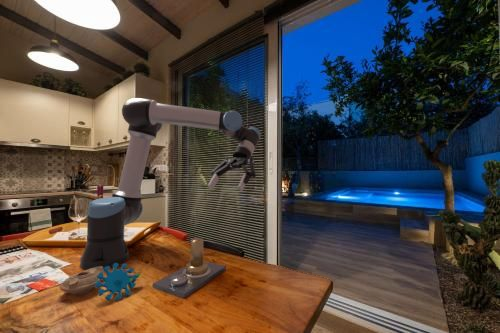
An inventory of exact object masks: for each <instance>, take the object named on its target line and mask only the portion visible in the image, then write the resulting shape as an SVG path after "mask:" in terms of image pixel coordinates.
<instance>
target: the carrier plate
mask: <svg viewBox="0 0 500 333" xmlns="http://www.w3.org/2000/svg"><path fill="white" fill-rule="evenodd" d="M206 262H207V263H208V271H207V272H206V273H204V274H202V275H197V276H191V275H188V274H186V266H184V267H182V268H179V269H177V270H176V271H173V272H172V273H170V274H169V275H166V276H164V277H163V278H161V279H159V280H157V281H155V282H153V283H152V288H153V289H155V290H158V291H162V292H165V293H167V294H170V295H173V296H176V297H179V298H182V299H185V298H187V297H188V296H190V295H191V294H192V293H194V292H195V291H197V290H199V289H200V288H202V287H203V286H205V285H206V284H207V283H209V282H210V281H211V280H213V279H215V277H218V276H219V275H220V274H222V273H224V271H226V270H227V269H226V268H227V266H226V265H224V264H219V263H214V262H210V261H206Z"/></svg>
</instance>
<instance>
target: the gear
mask: <svg viewBox="0 0 500 333" xmlns="http://www.w3.org/2000/svg"><path fill="white" fill-rule="evenodd" d="M119 266H120V264H118V263H114V264H113V266H112V271H110V269H111V267H110V266H106V267H105V268H103V269H104V272H105V273H106V276H104V272H103V273H102V272H101V273H99V274H98V276H97V278H98V279H100V281H97V282H96V284H95V286H94V288H100V289H99V290H98V291H97V294H98V296H99V297H101V296H103V295H104V294H105V293H107V292H111V293H108V294H106V296H105V297H104V298H105V300H106V301H111V299H112V298H113V296H114V294H116V293H118V294H117V295H116V296H115V300H116V301H121V300H122V298H123V296H122V292H123V290H124V296H125V297H127V296H129V295H130V294H131V290H133V289H134V288H135V287H136V285H137V283H136V281H137V279H139V277H141V273H140V272H137V273H136V274H133V272H134V268H133V267H130V268H129V269H127V270H125V269H126V268H127V267H128V264H126V263H124V262H123V264H122V265H121V267H119ZM118 267H119V269H117V268H118ZM131 274H132V275H131ZM101 280H102V281H103V282H104V283H103V282H101ZM101 287H103V288H101ZM128 287H130V288H128ZM104 288H106V289H104ZM130 289H131V290H130Z"/></svg>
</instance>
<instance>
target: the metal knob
mask: <svg viewBox="0 0 500 333" xmlns="http://www.w3.org/2000/svg"><path fill="white" fill-rule="evenodd" d="M207 262H208V261H206V260H204V238H202V237H194V238H192V239H190V261H189V262H187V263H185V267H186V274H188V275H191V276H197V275H202V274H204V273H206V272H207V271H208V263H207Z"/></svg>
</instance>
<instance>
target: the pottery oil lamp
mask: <svg viewBox="0 0 500 333" xmlns="http://www.w3.org/2000/svg"><path fill="white" fill-rule="evenodd" d="M101 272H102V273H103V274H104V272H105V271H104V268H103V267H102V266H100V267H94V268H91V269H84V270H82V271H80V272H77V273H75V274H72V275H70V276H69V277H68V278H67V279H65V280H64V281H63V282H62V283H60V286H59V288H60V290H61V291H62V292H64V293H67V294H73V295H76V296H80V295H85V294H87V293H89V292H91V291H92V290H93V288H95V284H96V282H97V281H100V282H101V279H98V278H97V276H98V274H99V273H101Z"/></svg>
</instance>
